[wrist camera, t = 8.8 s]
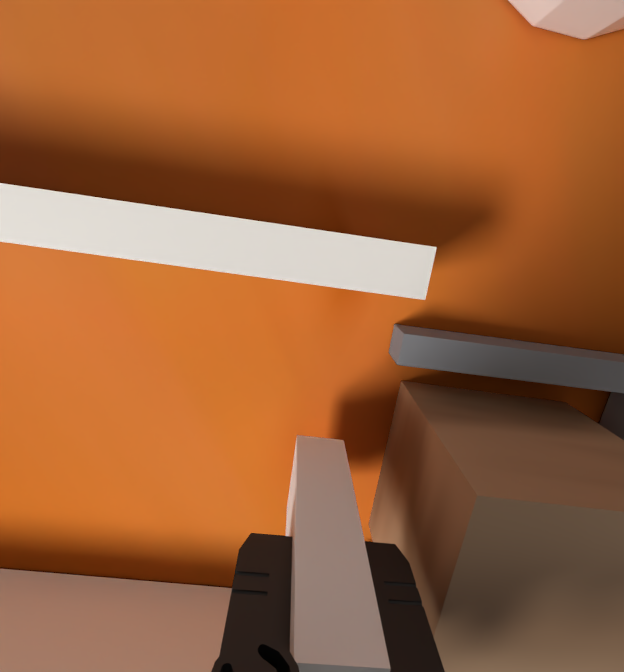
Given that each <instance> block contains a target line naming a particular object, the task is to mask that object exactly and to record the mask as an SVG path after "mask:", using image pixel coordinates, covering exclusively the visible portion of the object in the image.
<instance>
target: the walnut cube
mask: <svg viewBox="0 0 624 672" xmlns="http://www.w3.org/2000/svg"><path fill="white" fill-rule="evenodd" d="M369 528H370V532H371V536H372V541H373V542H378V543H389V544H396V546H397V547H398V548H399V550H400V551H401V552H402V554H403V555H404V556H405V558H406V559H407V560H408V561H409V563H410V566H411V569H412V572H413V576H414V579H415V582H416V588H418V591H419V594H420V597H421V600H422V607H424V609H425V612H426V615H427V619H428V622H429V625H430V628H431V631H432V634H433V637H434V640H435V643H436V646H437V649H438V652H439V655H440V658H441V662H442V665H443V668H444V671H445V672H624V440H622V439H621V438H619V437H618V436H616V435H615V434H613V433H612V432H610V431H609V430H607V429H606V428H604V427H603V426H601V425H600V424H598V423H597V422H595V421H593V420H592V419H590V418H589V417H587V416H586V415H584V414H583V413H581V412H580V411H578V410H577V409H575V408H574V407H572V406H571V405H569V404H568V403H566V402H561V401H553V400H545V399H538V398H530V397H523V396H515V395H507V394H500V393H492V392H484V391H477V390H469V389H461V388H454V387H446V386H439V385H431V384H423V383H416V382H408V381H401V384H400V388H399V392H398V397H397V401H396V406H395V410H394V414H393V419H392V423H391V428H390V432H389V436H388V441H387V445H386V450H385V454H384V459H383V463H382V467H381V472H380V476H379V481H378V485H377V489H376V494H375V498H374V503H373V507H372V511H371V516H370V520H369Z"/></svg>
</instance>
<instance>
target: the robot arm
mask: <svg viewBox="0 0 624 672" xmlns="http://www.w3.org/2000/svg"><path fill="white" fill-rule="evenodd" d="M211 672H445V671H444V668H443V665H442V662H441V658H440V655H439V652H438V649H437V646H436V643H435V640H434V637H433V634H432V631H431V628H430V625H429V622H428V619H427V615H426V612H425V609H424V607H422V600H421V597H420V594H419V591H418V588H416V582H415V579H414V576H413V572H412V569H411V566H410V563H409V561H408V560H407V559H406V558H405V556H404V555H403V554H402V552H401V551H400V550H399V548H398V547H397V546H396V544H389V543H378V542H366V541H364V536H363V531H362V526H361V522H360V517H359V512H358V507H357V502H356V497H355V492H354V488H353V483H352V478H351V473H350V468H349V463H348V458H347V453H346V449H345V444H344V440H339V439H329V438H319V437H310V436H300V435H297V439H296V446H295V453H294V460H293V467H292V475H291V482H290V489H289V496H288V504H287V518H286V536H280V535H268V534H257V533H251V534H250V535H249V537H248V538H247V540H246V541H245V542H244V544H243V545H242V547H241V548H240V549H239V553H238V559H237V564H236V569H235V575H234V580H233V585H232V592H231V596H230V601H229V607H228V612H227V617H226V623H225V628H224V633H223V639H222V644H221V649H220V655H219V657H218V658H217V660H216V661H215V663H214V666H213V668H212V671H211Z"/></svg>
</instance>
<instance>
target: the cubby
mask: <svg viewBox="0 0 624 672" xmlns="http://www.w3.org/2000/svg"><path fill="white" fill-rule="evenodd" d="M0 242H8V243H15V244H22V245H30V246H37V247H44V248H51V249H59V250H66V251H73V252H80V253H88V254H95V255H102V256H110V257H117V258H124V259H131V260H139V261H146V262H153V263H160V264H168V265H175V266H182V267H190V268H197V269H204V270H211V271H219V272H226V273H233V274H241V275H248V276H255V277H262V278H270V279H277V280H284V281H291V282H299V283H306V284H313V285H321V286H328V287H335V288H342V289H350V290H357V291H364V292H372V293H379V294H386V295H393V296H401V297H408V298H415V299H422V300H425V298H426V294H427V289H428V285H429V280H430V276H431V271H432V267H433V262H434V258H435V253H436V249H437V247H432V246H426V245H419V244H412V243H405V242H398V241H392V240H385V239H378V238H371V237H364V236H358V235H351V234H344V233H337V232H330V231H324V230H317V229H310V228H303V227H296V226H290V225H283V224H276V223H269V222H262V221H255V220H249V219H242V218H235V217H228V216H221V215H215V214H208V213H201V212H194V211H187V210H181V209H174V208H167V207H160V206H153V205H147V204H140V203H133V202H126V201H119V200H113V199H106V198H99V197H92V196H85V195H79V194H72V193H65V192H58V191H51V190H44V189H38V188H31V187H24V186H17V185H10V184H4V183H0ZM231 592H232V588H225V587H213V586H201V585H190V584H178V583H166V582H154V581H142V580H130V579H119V578H107V577H95V576H83V575H71V574H59V573H47V572H36V571H24V570H12V569H0V672H211V671H212V668H213V666H214V663H215V661H216V660H217V658H218V657H219V655H220V649H221V644H222V639H223V633H224V628H225V623H226V617H227V612H228V607H229V601H230V596H231Z"/></svg>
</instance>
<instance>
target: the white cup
mask: <svg viewBox="0 0 624 672" xmlns="http://www.w3.org/2000/svg"><path fill="white" fill-rule="evenodd" d="M508 1H509V2H510V3H511V4H512V5H513V6H514V7H515V9H516V10H517V11H518V12H519V13H520V14H521V15H522V16H523V17H524V18H525V19H526V20H527V21H528V22H529V23H530V24H531V25H532V26H534V27H538V28H541V29H545V30H549V31H553V32H556V33H560V34H564V35H568V36H571V37H575V38H579V39H583V40H585V39H589V38H593V37H596V36H600V35H603V34H607V33H611V32H614V31H618V30H622V29H624V0H508Z"/></svg>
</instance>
